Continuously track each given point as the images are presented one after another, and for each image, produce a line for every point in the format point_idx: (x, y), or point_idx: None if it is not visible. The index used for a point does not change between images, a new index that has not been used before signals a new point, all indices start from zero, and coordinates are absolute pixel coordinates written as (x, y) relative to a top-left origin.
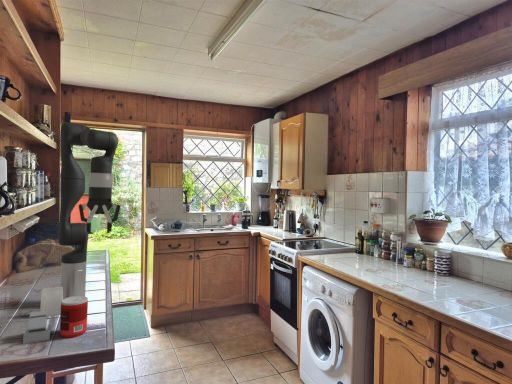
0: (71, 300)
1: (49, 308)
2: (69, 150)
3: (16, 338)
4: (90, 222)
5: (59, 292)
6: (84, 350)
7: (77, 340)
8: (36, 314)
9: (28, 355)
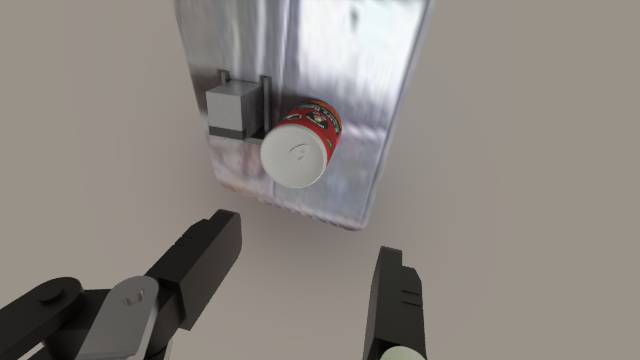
0: (284, 151)
1: None
2: None
3: None
4: (177, 328)
5: None
6: (325, 213)
7: None
8: (221, 116)
9: (245, 181)
